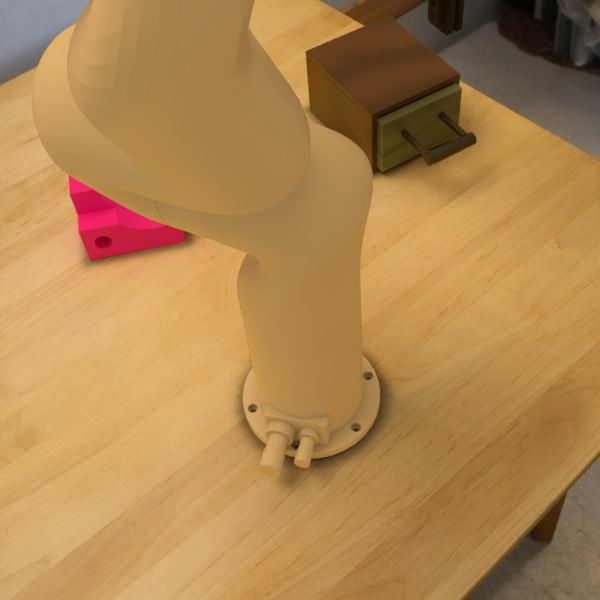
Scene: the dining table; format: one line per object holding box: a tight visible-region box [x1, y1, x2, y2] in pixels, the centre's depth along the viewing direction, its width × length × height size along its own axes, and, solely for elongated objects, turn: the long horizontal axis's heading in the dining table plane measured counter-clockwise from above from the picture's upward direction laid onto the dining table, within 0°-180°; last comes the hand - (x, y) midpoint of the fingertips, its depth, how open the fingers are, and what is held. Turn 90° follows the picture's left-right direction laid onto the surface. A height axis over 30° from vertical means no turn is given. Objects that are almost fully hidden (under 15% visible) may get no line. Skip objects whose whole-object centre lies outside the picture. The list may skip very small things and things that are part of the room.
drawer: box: [377, 83, 478, 173], centre depth 96 cm, size 18×10×7 cm, turn 31°
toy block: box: [68, 175, 186, 261], centre depth 91 cm, size 15×6×8 cm, turn 102°
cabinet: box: [305, 15, 461, 174], centre depth 98 cm, size 14×12×9 cm
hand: (444, 25), depth 81 cm, fingers closed
